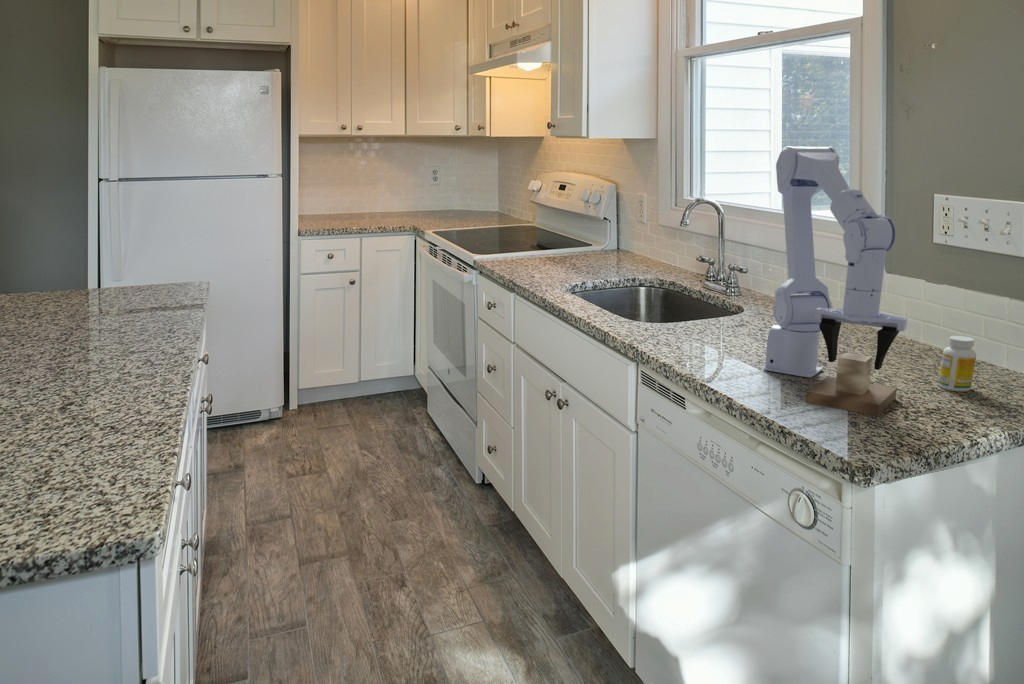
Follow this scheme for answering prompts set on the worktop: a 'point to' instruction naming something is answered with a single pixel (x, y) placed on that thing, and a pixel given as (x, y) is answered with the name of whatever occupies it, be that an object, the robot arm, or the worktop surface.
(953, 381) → the supplement bottle
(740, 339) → the worktop surface
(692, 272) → the worktop surface
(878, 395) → the walnut plinth
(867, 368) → the beech block
